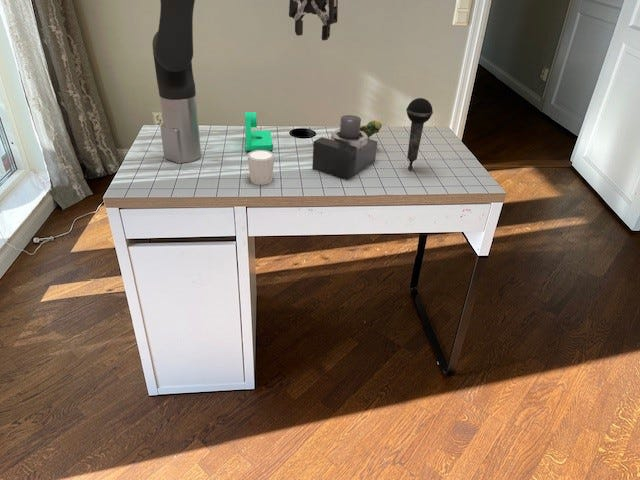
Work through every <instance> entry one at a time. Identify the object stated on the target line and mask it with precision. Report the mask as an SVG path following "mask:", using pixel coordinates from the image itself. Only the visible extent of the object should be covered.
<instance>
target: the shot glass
mask: <svg viewBox="0 0 640 480" xmlns="http://www.w3.org/2000/svg"><path fill="white" fill-rule="evenodd" d="M246 156H247V164H248V170H249V172H248V173H249V178H250V182H251V183H252V184H255V185H260V186H261V185H263V186H264V185H268V184H270V183H272V182H273V175H274V167H275V166H274V165H275V153H274V152H272V151H271V150H255V151H249V152H248V153H247V155H246Z"/></svg>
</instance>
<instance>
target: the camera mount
mask: <svg viewBox="0 0 640 480" xmlns="http://www.w3.org/2000/svg"><path fill="white" fill-rule="evenodd" d="M257 119H258V118H257V112H256V111H245V112H244V130H245V131H244V133H245V134H244V135H245V149H246V150H245V151H247V152H248V151H249V152H251V151H255V150H267V151H272V150H273V148H274V146H273V145H274V144H273V143H274V142H273V138H272V132H271V130H266V129H265V130H264V129H263V130H252V128H258V127H257V126H258V125H257V123H258V120H257Z"/></svg>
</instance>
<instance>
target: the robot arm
mask: <svg viewBox="0 0 640 480" xmlns="http://www.w3.org/2000/svg"><path fill="white" fill-rule="evenodd" d="M159 1H160V13H159V24H158V30H157V31H156V33H155V34H154V36H153V38H152V43H151V44H152V45H151V46H152V54H153V55H152V56H153V60H154V61H153V63H154V69H155V75H156V82H157V88H158V96H159V102H160V110H161V111H160V112H161V117H162V124H160V125H159V126H160V127H159V128H160V134H161V135H160V136H161V142H162V143H161V144H162V149H163V157H164V159H165V160H168V161H170V162H171V161H172V162H174V163H177V164H178V165H179V164H183V163H191V162H194V161H197V160H198V159H200V158H201V157H202V149H201V148H202V147H201V139H200V137H201V136H200V125H199V114H198V104H197V102H198V101H197V92H196V83H195V79H194V72H193V64H192V63H193V62H192V61H193V58H194V38H193V37H194V36H193V34H194V33H193V32H194V31H193V22H194V20H193V16H194V7H195V2H196V0H159ZM299 2H300V6H299ZM338 4H339V1H338V0H289V6H288V8H289V9H288V17H289V18H292V19H294V33H295V35H296V36H297V37H298V36H302V35H303V34H304V31H303V30H304V20H303V19H304V17H305V16H306V15H307V14H312V15H317V17H318V18H319V19H320V21H321V23H322V24H323V25H322V28H321V41H328V40H329V38H330V36H331V35H330V34H331V25H333V24H337V23H338V17H339V16H338V13H339V11H338ZM327 7H328V9H327Z"/></svg>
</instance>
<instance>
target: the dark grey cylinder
mask: <svg viewBox="0 0 640 480" xmlns="http://www.w3.org/2000/svg"><path fill="white" fill-rule="evenodd" d="M361 122H362V118H361V117H360V116H357V115H352V114H351V115H349V114H347V115H342V116H341V117H340V126H339V129H340V138H343V139H347V140H358V139H359V134H360V126H361Z"/></svg>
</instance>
